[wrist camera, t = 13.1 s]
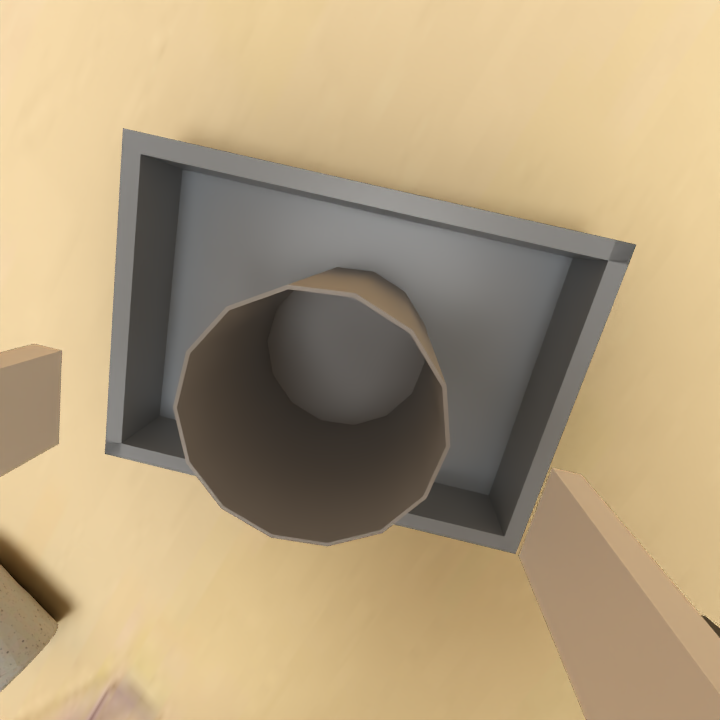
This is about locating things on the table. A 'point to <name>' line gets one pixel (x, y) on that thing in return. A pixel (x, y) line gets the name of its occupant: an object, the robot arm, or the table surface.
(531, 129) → the table surface
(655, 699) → the robot arm
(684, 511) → the table surface
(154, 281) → the slate bin
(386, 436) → the cup
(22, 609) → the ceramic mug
